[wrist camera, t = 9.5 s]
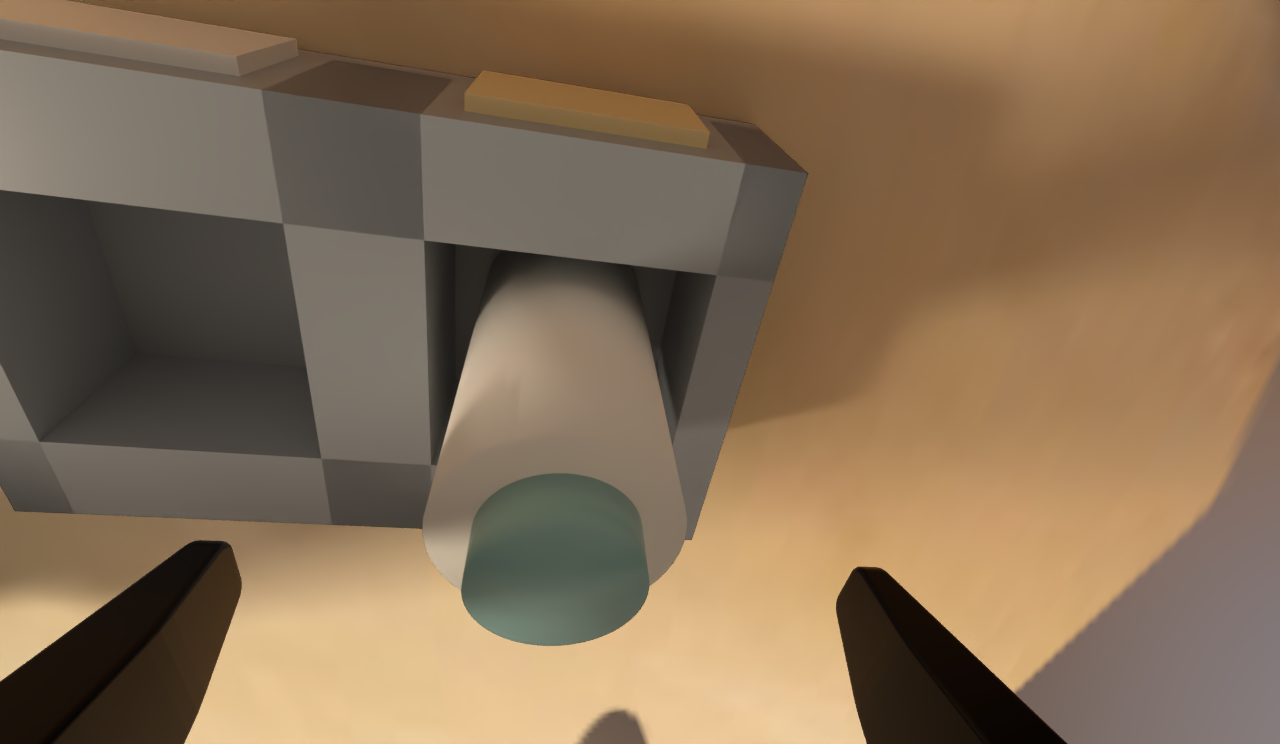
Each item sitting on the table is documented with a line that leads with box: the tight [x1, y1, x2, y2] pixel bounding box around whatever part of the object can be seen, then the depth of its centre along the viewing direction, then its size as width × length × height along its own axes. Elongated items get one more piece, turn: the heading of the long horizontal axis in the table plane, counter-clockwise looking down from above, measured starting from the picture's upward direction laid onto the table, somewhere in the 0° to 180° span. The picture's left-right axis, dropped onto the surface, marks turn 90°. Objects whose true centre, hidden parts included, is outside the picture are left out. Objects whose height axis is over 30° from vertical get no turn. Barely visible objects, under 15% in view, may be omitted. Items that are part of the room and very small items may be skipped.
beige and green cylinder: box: [422, 250, 687, 646], centre depth 12 cm, size 4×4×9 cm
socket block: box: [0, 0, 808, 540], centre depth 14 cm, size 16×10×4 cm, turn 80°
